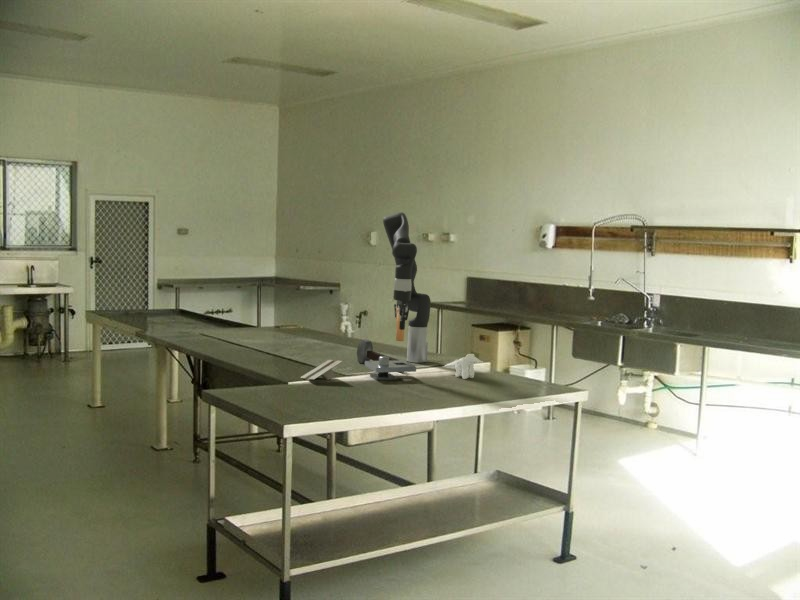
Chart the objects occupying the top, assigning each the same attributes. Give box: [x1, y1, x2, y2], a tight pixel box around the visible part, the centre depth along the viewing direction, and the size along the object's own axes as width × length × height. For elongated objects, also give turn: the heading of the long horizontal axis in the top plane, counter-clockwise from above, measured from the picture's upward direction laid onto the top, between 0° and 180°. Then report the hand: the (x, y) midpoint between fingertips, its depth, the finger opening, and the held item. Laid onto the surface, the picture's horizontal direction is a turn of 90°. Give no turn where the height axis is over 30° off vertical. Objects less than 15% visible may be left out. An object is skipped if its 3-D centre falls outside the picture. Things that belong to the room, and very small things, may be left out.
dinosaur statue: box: [442, 353, 484, 380], centre depth 374 cm, size 7×24×11 cm, turn 44°
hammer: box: [356, 339, 402, 374], centre depth 389 cm, size 5×11×30 cm
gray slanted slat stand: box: [300, 359, 343, 381], centre depth 353 cm, size 16×9×15 cm
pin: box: [395, 308, 405, 342], centre depth 364 cm, size 4×4×14 cm
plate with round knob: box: [364, 355, 417, 381], centre depth 365 cm, size 18×16×9 cm
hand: (400, 328), depth 365 cm, fingers closed on pin, 3 cm apart
